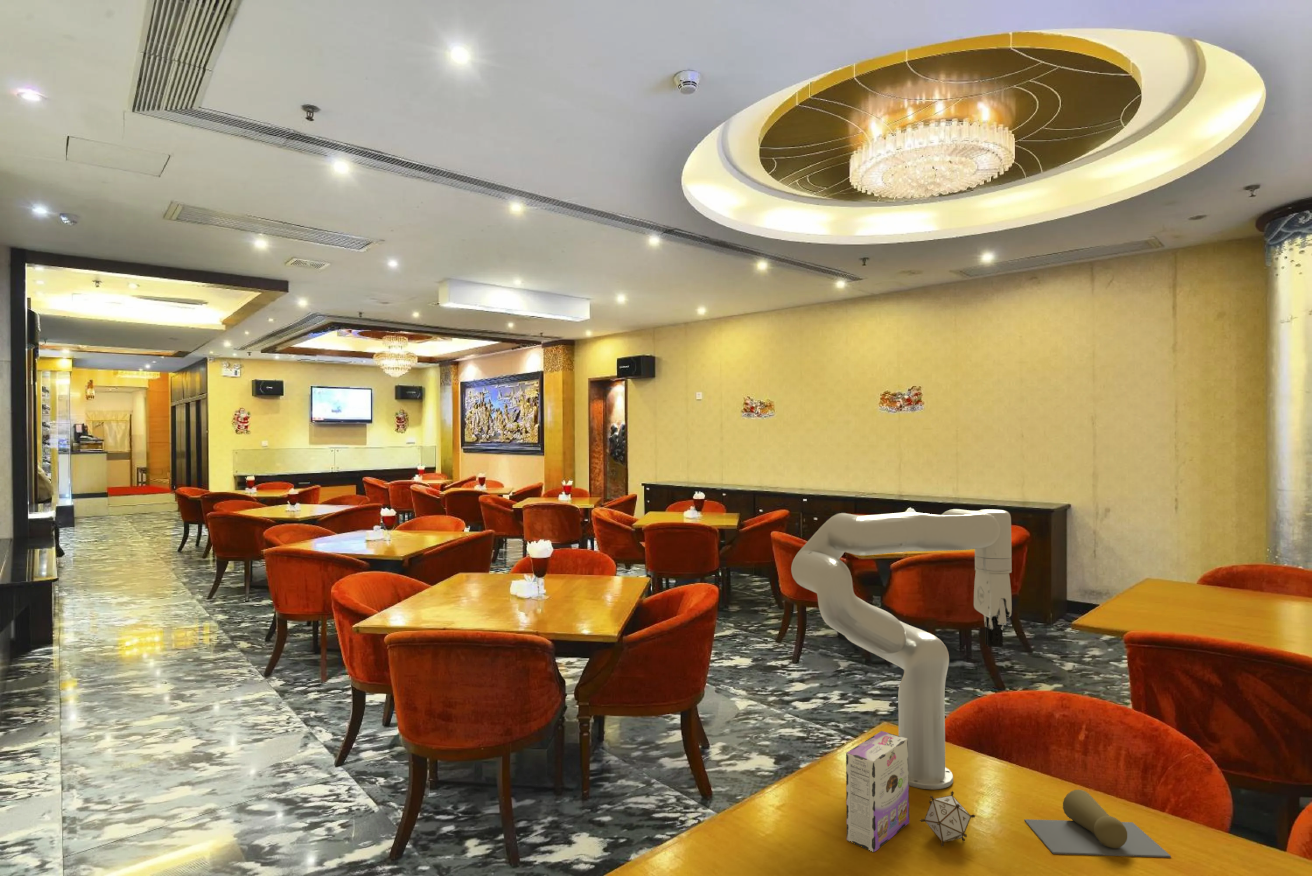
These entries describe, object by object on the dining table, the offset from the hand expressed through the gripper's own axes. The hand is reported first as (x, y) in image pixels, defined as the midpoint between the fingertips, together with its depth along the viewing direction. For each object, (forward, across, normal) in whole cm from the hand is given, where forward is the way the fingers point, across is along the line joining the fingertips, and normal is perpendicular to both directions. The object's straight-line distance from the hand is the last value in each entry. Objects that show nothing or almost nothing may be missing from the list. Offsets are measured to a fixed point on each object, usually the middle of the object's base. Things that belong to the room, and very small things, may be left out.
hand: (993, 645), depth 159 cm
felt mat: (+27, +29, +6) cm, 40 cm away
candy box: (+27, +29, -33) cm, 52 cm away
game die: (+27, +31, -21) cm, 46 cm away
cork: (+24, +23, +6) cm, 34 cm away
